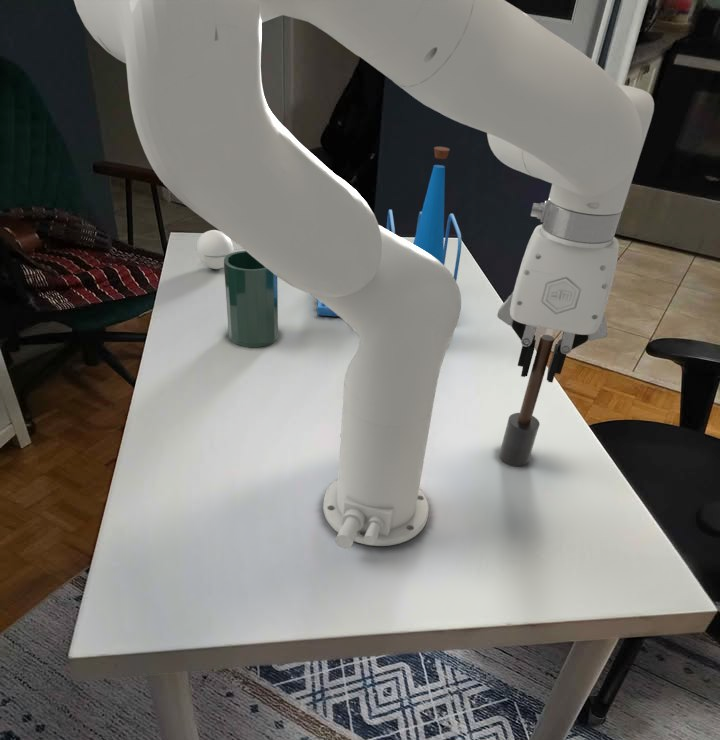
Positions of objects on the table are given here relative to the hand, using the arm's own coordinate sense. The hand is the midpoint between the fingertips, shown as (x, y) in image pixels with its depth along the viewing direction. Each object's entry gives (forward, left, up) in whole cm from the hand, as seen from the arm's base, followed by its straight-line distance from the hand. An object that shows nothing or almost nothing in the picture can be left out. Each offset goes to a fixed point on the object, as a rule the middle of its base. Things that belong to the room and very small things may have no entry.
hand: (537, 373), depth 80 cm
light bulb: (+42, +63, -13) cm, 77 cm away
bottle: (+28, +20, -13) cm, 37 cm away
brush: (0, 0, -13) cm, 13 cm away
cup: (+18, +46, -13) cm, 51 cm away
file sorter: (+41, +29, -13) cm, 52 cm away
